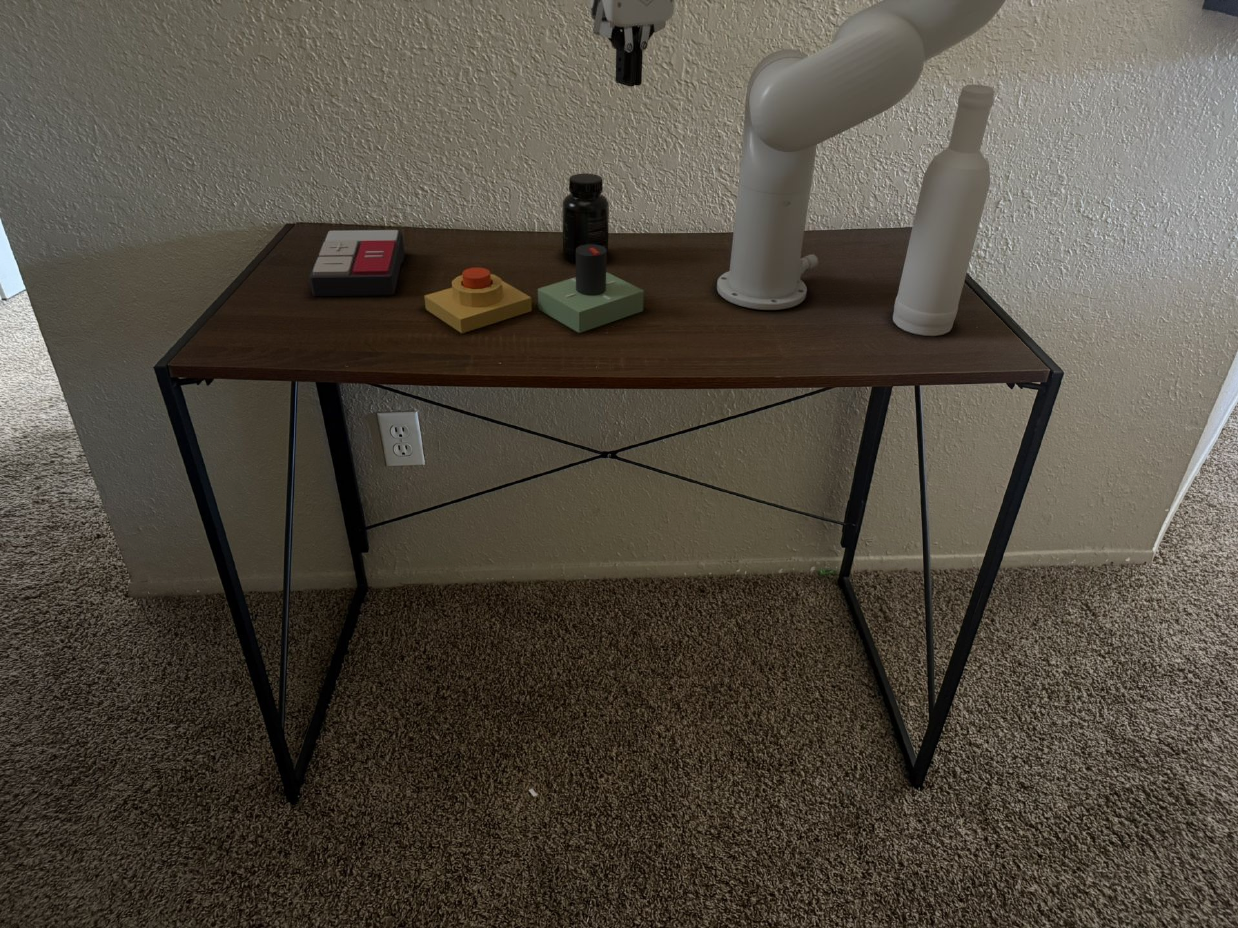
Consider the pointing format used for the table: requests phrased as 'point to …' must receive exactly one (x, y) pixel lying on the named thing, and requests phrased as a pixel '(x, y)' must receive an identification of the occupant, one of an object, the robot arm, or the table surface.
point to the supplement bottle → (584, 215)
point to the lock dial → (591, 269)
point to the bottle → (946, 222)
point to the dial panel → (590, 303)
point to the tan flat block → (477, 304)
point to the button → (476, 278)
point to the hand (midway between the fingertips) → (628, 83)
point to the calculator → (358, 263)
